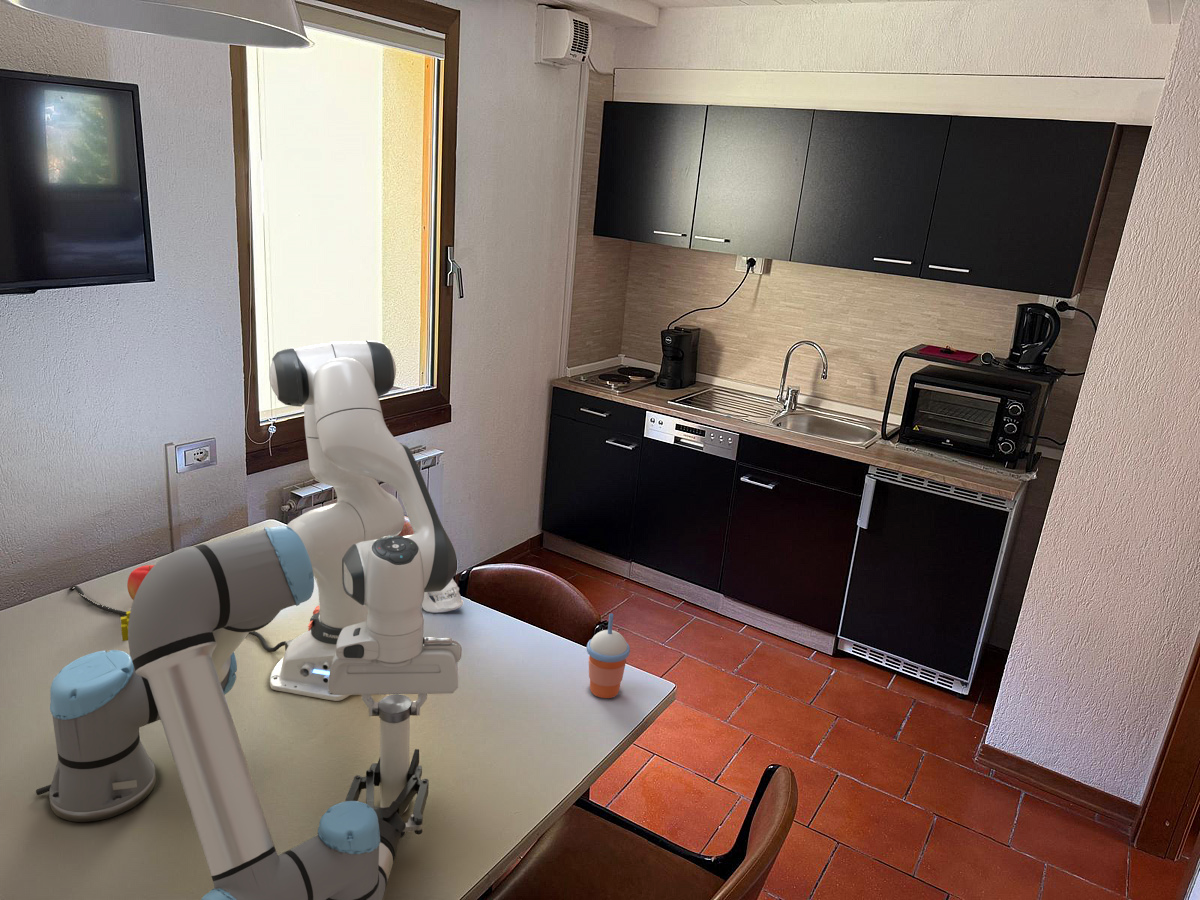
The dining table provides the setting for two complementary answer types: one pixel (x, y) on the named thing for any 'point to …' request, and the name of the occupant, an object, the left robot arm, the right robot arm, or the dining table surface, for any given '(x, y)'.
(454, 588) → the skull
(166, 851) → the dining table surface
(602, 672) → the cup with straw
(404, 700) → the lid
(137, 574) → the apple
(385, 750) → the white cylinder
